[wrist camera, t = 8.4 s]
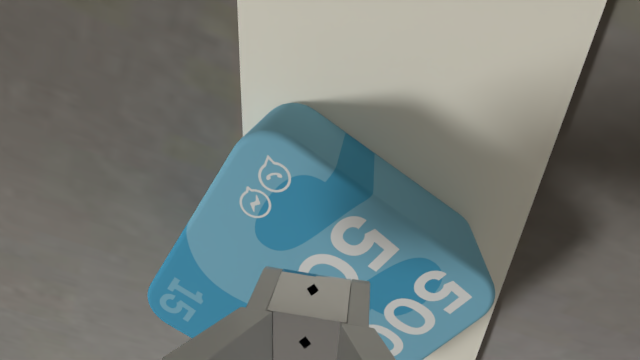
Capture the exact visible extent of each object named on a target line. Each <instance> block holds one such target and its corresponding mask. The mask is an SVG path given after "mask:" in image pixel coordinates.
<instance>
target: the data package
mask: <svg viewBox="0 0 640 360" xmlns="http://www.w3.org/2000/svg"><path fill="white" fill-rule="evenodd" d="M266 266H268V267H274V268H280V269H288V270H294V271H300V272H306V273H311V274H317V275H325V276H332V277H339V278H346V279H351V281H352V279H356V280H364V281H369V282H370V306H369V327H370V328H374V329H375V330H376V331H377V333H378V334H379V336H380V337H381V339H382V340H383V342H384V343H385V345H386V346H387V347H388V349H389V350H390V352H391V353H392V355H393V356H394V358H395V359H396V360H423V359H424V358H426V357H427V356H429V355H430V354H431V353H433V352H434V351H436V350H437V349H438V348H440V347H441V346H443V345H444V344H445V343H447V342H448V341H450V340H451V339H452V338H454V337H455V336H457V335H458V334H459V333H461V332H462V331H464V330H465V329H466V328H468V327H469V326H471V325H472V324H473V323H475V322H476V321H478V320H479V319H480V318H482V317H483V316H484V315H485V314H486V313H487V312H488V311H489V310H490V308H491V307H492V305H493V303H494V299H495V287H494V283H493V281H492V278H491V276H490V274H489V271H488V269H487V266H486V264H485V261H484V259H483V257H482V254H481V252H480V249H479V247H478V245H477V242H476V240H475V237H474V235H473V232H472V230H471V228H470V225H469V224H468V222H467V221H466V219H465V218H464V217H463V216H461V215H460V214H459V213H457V212H456V211H455V210H453V209H452V208H450V207H449V206H448V205H446V204H445V203H443V202H442V201H441V200H439V199H438V198H436V197H435V196H434V195H432V194H431V193H429V192H428V191H427V190H425V189H424V188H423V187H421V186H420V185H418V184H417V183H416V182H414V181H413V180H411V179H410V178H409V177H407V176H406V175H404V174H403V173H402V172H400V171H399V170H398V169H396V168H395V167H393V166H392V165H391V164H389V163H388V162H386V161H385V160H384V159H382V158H381V157H379V156H378V155H377V154H375V153H374V152H373V151H371V150H370V149H368V148H367V147H366V146H364V145H363V144H361V143H360V142H359V141H357V140H356V139H354V138H353V137H352V136H350V135H349V134H348V133H346V132H345V131H343V130H342V129H341V128H339V127H338V126H336V125H335V124H334V123H332V122H331V121H329V120H328V119H327V118H325V117H324V116H323V115H321V114H320V113H318V112H317V111H316V110H314V109H312V108H311V107H309V106H307V105H303V104H299V103H287V104H282V105H280V106H278V107H276V108H274V109H273V110H271V111H270V112H269V113H268V114H267V115H266V116H265V117H264V118H263V119H262V120H261V121H259V122H258V123H257V124H256V125H255V126H254V127H253V128H252V129H251V130H250V131H249V132H248V133H247V134H246V135H245V136H244V137H242V138H241V139H240V140H239V141H238V142H237V144H236V145H235V146H234V148H233V149H232V151H231V153H230V154H229V156H228V158H227V159H226V161H225V163H224V164H223V166H222V168H221V169H220V171H219V172H218V174H217V176H216V177H215V179H214V181H213V182H212V184H211V186H210V187H209V189H208V191H207V192H206V194H205V196H204V197H203V199H202V200H201V202H200V204H199V205H198V207H197V209H196V210H195V212H194V214H193V215H192V217H191V219H190V220H189V222H188V224H187V225H186V227H185V228H184V230H183V232H182V233H181V235H180V237H179V238H178V240H177V242H176V243H175V245H174V247H173V248H172V250H171V252H170V253H169V255H168V256H167V258H166V260H165V261H164V263H163V265H162V266H161V268H160V270H159V271H158V273H157V275H156V276H155V278H154V279H153V281H152V283H151V284H150V287H149V289H148V301H149V304H150V307H151V308H152V310H153V312H154V313H155V314H156V315H157V316H158V317H159V318H160V319H161V320H162V321H164V322H165V323H167V324H168V325H170V326H172V327H174V328H175V329H177V330H179V331H180V332H182V333H184V334H186V335H187V336H189V337H191V338H194V337H195V336H197V335H198V334H200V333H201V332H203V331H204V330H206V329H207V328H209V327H211V326H212V325H214V324H215V323H217V322H218V321H220V320H221V319H223V318H224V317H226V316H227V315H229V314H231V313H232V312H234V311H235V310H237V309H238V308H240V307H245V308H246V306H247V304H248V302H249V300H250V297H251V295H252V293H253V291H254V289H255V286H256V284H257V282H258V280H259V278H260V275H261V273H262V271H263V269H264V268H265V267H266Z"/></svg>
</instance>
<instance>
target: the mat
mask: <svg viewBox="0 0 640 360" xmlns="http://www.w3.org/2000/svg"><path fill="white" fill-rule="evenodd" d="M606 2H607V0H237V5H238V29H239V53H240V76H241V100H242V124H243V137H244V136H245V135H246V134H247V133H248V132H249V131H250V130H251V129H252V128H253V127H254V126H255V125H256V124H257V123H258V122H259V121H261V120H262V119H263V118H264V117H265V116H266V115H267V114H268V113H269V112H270V111H271V110H273V109H274V108H276V107H278V106H280V105H282V104H287V103H299V104H303V105H307V106H309V107H311V108H312V109H314V110H316V111H317V112H318V113H320V114H321V115H323V116H324V117H325V118H327V119H328V120H329V121H331V122H332V123H334V124H335V125H336V126H338V127H339V128H341V129H342V130H343V131H345V132H346V133H348V134H349V135H350V136H352V137H353V138H354V139H356V140H357V141H359V142H360V143H361V144H363V145H364V146H366V147H367V148H368V149H370V150H371V151H373V152H374V153H375V154H377V155H378V156H379V157H381V158H382V159H384V160H385V161H386V162H388V163H389V164H391V165H392V166H393V167H395V168H396V169H398V170H399V171H400V172H402V173H403V174H404V175H406V176H407V177H409V178H410V179H411V180H413V181H414V182H416V183H417V184H418V185H420V186H421V187H423V188H424V189H425V190H427V191H428V192H429V193H431V194H432V195H434V196H435V197H436V198H438V199H439V200H441V201H442V202H443V203H445V204H446V205H448V206H449V207H450V208H452V209H453V210H455V211H456V212H457V213H459V214H460V215H461V216H463V217H464V218H465V219H466V221H467V222H468V224H469V225H470V228H471V230H472V232H473V235H474V237H475V240H476V242H477V245H478V247H479V249H480V252H481V254H482V257H483V259H484V261H485V264H486V266H487V269H488V271H489V274H490V276H491V278H492V281H493V283H494V287H495V299H494V303H493V305H492V307H491V308H490V310H489V311H488V312H487V313H486V314H485V315H484V316H483V317H482V318H480V319H479V320H478V321H476V322H475V323H473V324H472V325H471V326H469V327H468V328H466V329H465V330H464V331H462V332H461V333H459V334H458V335H457V336H455V337H454V338H452V339H451V340H450V341H448V342H447V343H445V344H444V345H443V346H441V347H440V348H438V349H437V350H436V351H434V352H433V353H431V354H430V355H429V356H427V357H426V358H424V359H423V360H475V359H476V356H477V354H478V351H479V348H480V345H481V343H482V340H483V337H484V334H485V332H486V329H487V326H488V324H489V321H490V318H491V315H492V313H493V310H494V307H495V304H496V302H497V299H498V296H499V294H500V291H501V288H502V285H503V283H504V280H505V277H506V274H507V272H508V269H509V266H510V264H511V261H512V258H513V255H514V253H515V250H516V247H517V244H518V242H519V239H520V236H521V234H522V231H523V228H524V225H525V223H526V220H527V217H528V214H529V212H530V209H531V206H532V204H533V201H534V198H535V195H536V193H537V190H538V187H539V184H540V182H541V179H542V176H543V174H544V171H545V168H546V165H547V163H548V160H549V157H550V154H551V152H552V149H553V146H554V144H555V141H556V138H557V135H558V133H559V130H560V127H561V124H562V122H563V119H564V116H565V114H566V111H567V108H568V105H569V103H570V100H571V97H572V94H573V92H574V89H575V86H576V84H577V81H578V78H579V75H580V73H581V70H582V67H583V64H584V62H585V59H586V56H587V54H588V51H589V48H590V45H591V43H592V40H593V37H594V34H595V32H596V29H597V26H598V24H599V21H600V18H601V15H602V13H603V10H604V7H605V4H606Z"/></svg>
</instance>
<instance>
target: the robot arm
mask: <svg viewBox="0 0 640 360" xmlns="http://www.w3.org/2000/svg"><path fill="white" fill-rule="evenodd" d="M369 306H370V282H369V281H364V280H356V279H352V281H351V279H346V278H339V277H332V276H325V275H317V274H311V273H306V272H300V271H294V270H288V269H280V268H274V267H268V266H266V267H265V268H264V269H263V271H262V273H261V275H260V278H259V280H258V282H257V284H256V286H255V289H254V291H253V293H252V295H251V297H250V300H249V302H248V304H247V306H246V308H245V307H240V308H238V309H237V310H235V311H234V312H232V313H231V314H229V315H227V316H226V317H224V318H223V319H221V320H220V321H218V322H217V323H215V324H214V325H212V326H211V327H209V328H207V329H206V330H204V331H203V332H201V333H200V334H198V335H197V336H195V337H194V338H192V339H191V340H189V341H188V342H186V343H184V344H183V345H181V346H180V347H178V348H177V349H175V350H174V351H172V352H171V353H169V354H168V355H166V356H165V357H163V358H162V360H396V359H395V358H394V356H393V355H392V353H391V352H390V350H389V349H388V347H387V346H386V345H385V343H384V342H383V340H382V339H381V337H380V336H379V334H378V333H377V331H376V330H375V329H374V328H370V327H369Z"/></svg>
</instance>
